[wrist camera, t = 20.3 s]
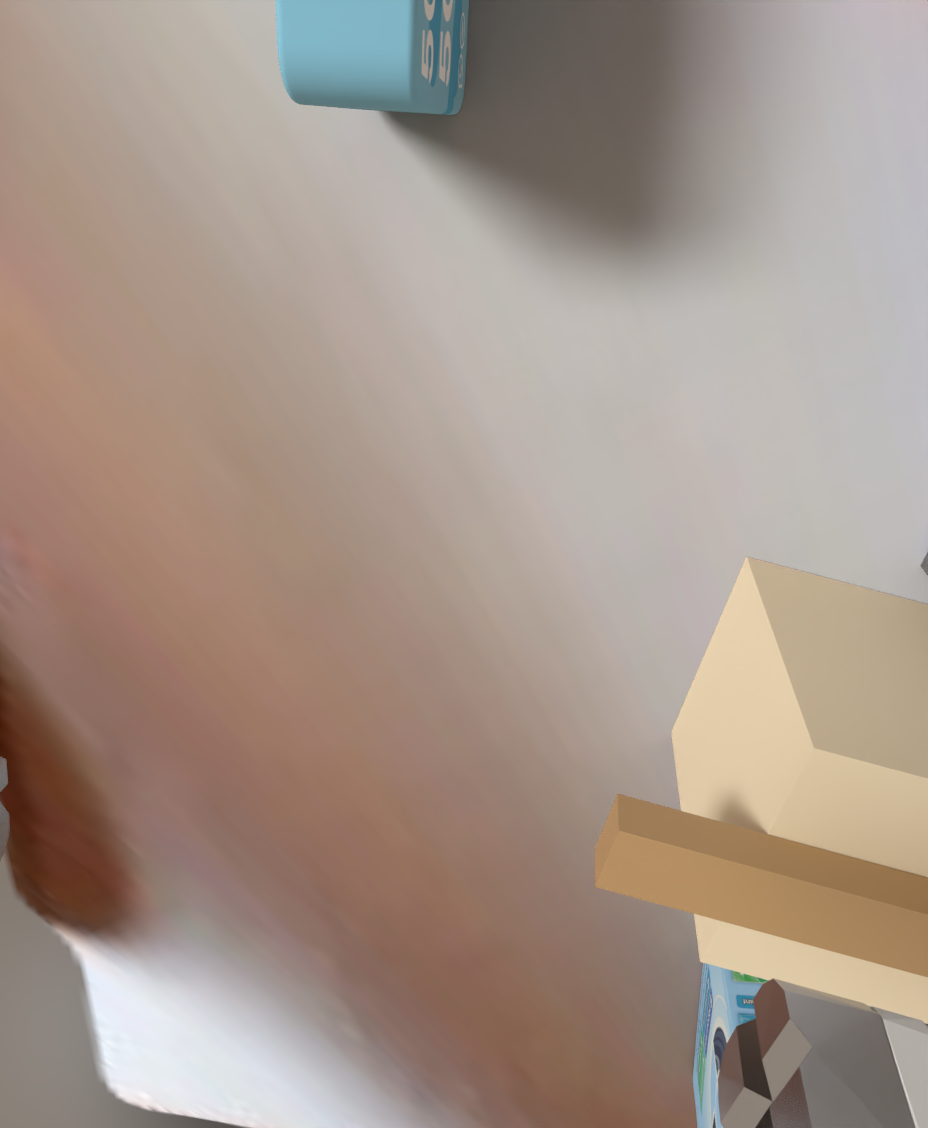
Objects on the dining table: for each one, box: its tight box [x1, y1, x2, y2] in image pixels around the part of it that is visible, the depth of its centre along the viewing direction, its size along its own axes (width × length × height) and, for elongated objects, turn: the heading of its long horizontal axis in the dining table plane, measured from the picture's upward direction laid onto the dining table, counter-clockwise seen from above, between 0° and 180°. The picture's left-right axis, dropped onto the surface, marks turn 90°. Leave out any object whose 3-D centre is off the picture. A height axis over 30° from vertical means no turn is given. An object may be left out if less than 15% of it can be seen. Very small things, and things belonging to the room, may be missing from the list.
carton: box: [671, 557, 928, 1024], centre depth 41 cm, size 16×12×16 cm
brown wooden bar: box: [595, 794, 928, 977], centre depth 33 cm, size 22×3×2 cm, turn 77°
